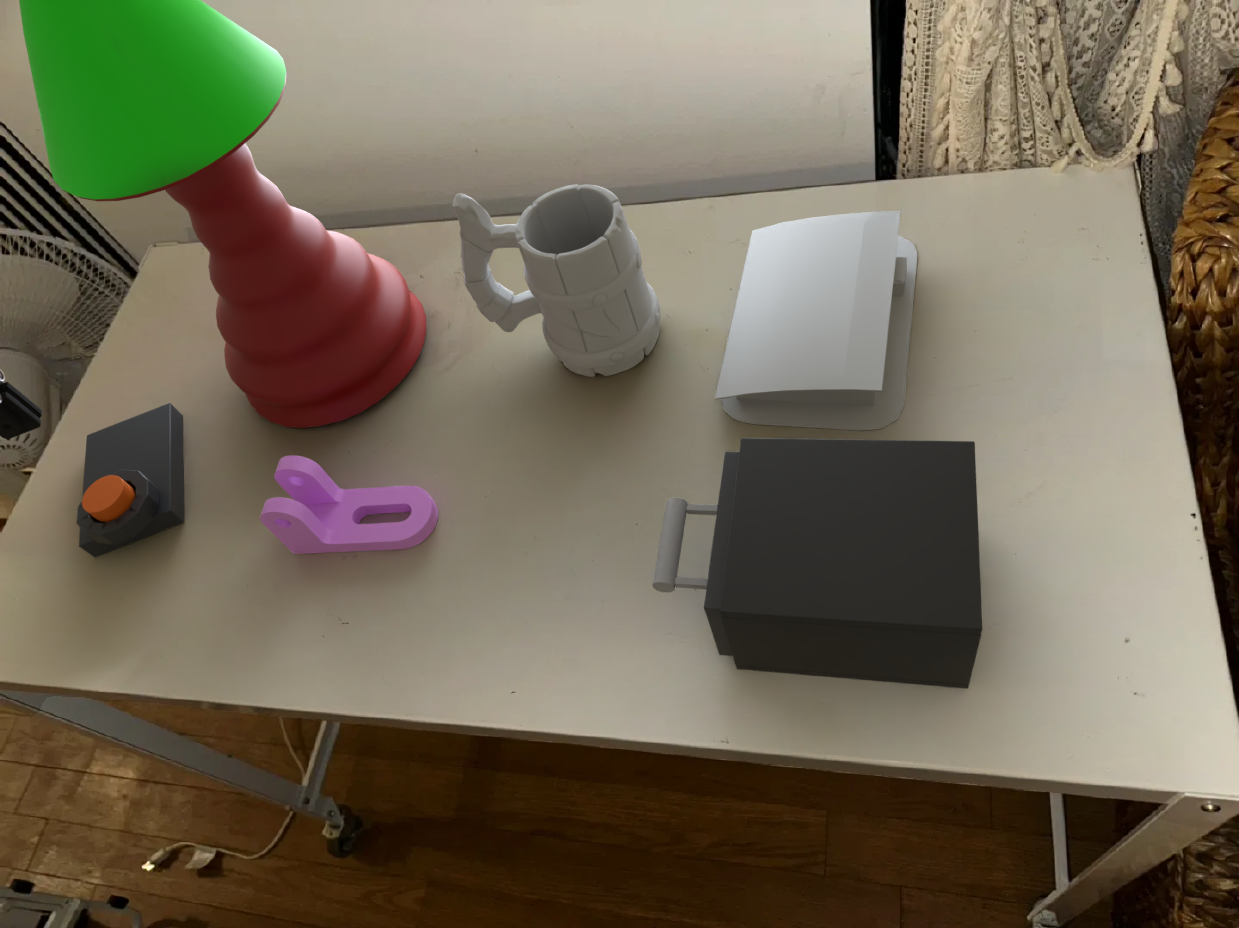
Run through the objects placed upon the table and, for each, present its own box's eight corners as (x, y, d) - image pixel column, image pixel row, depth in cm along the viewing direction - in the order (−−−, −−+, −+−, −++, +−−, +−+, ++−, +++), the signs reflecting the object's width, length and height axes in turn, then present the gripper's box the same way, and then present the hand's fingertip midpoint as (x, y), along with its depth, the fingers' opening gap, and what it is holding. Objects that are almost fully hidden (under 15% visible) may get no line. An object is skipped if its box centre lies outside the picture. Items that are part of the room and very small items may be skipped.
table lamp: (352, 259, 102) (71, -201, 66) (467, 326, 92) (209, -174, 56) (213, 378, 96) (-181, -58, 60) (319, 464, 86) (-78, 1, 50)
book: (919, 234, 86) (921, 201, 83) (901, 433, 74) (903, 403, 71) (756, 234, 90) (752, 203, 87) (714, 421, 79) (708, 393, 75)
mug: (657, 380, 83) (615, 233, 69) (481, 384, 87) (408, 247, 73) (671, 290, 89) (635, 138, 75) (506, 299, 93) (442, 157, 79)
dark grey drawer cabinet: (736, 669, 66) (719, 612, 58) (754, 507, 73) (740, 437, 65) (968, 689, 61) (982, 630, 54) (962, 514, 69) (974, 440, 61)
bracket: (294, 553, 80) (251, 513, 75) (310, 500, 84) (270, 456, 78) (431, 547, 78) (397, 504, 72) (443, 492, 81) (412, 446, 75)
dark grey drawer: (659, 650, 67) (637, 603, 61) (682, 505, 73) (665, 449, 67) (932, 672, 62) (940, 624, 55) (931, 514, 68) (937, 455, 62)
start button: (135, 512, 82) (122, 502, 81) (93, 528, 82) (80, 519, 81) (136, 479, 85) (123, 468, 83) (95, 494, 85) (82, 484, 83)
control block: (184, 535, 84) (158, 512, 81) (93, 570, 84) (63, 549, 81) (183, 415, 94) (159, 391, 90) (101, 447, 94) (74, 424, 90)
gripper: (-152, 316, 55) (62, 479, 70) (-109, 175, 64) (73, 346, 79) (-269, 361, 55) (-30, 515, 70) (-210, 214, 64) (-8, 378, 79)
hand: (24, 425), depth 74 cm, fingers closed
